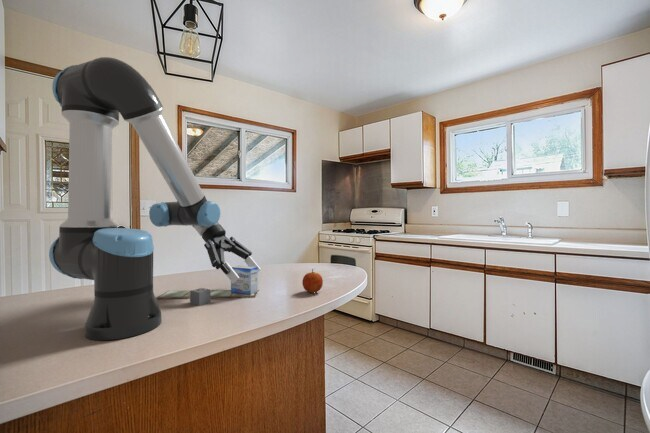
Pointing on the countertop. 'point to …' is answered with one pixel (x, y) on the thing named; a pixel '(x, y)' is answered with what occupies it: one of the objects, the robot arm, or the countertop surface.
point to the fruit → (312, 282)
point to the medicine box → (245, 280)
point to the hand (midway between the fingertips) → (248, 275)
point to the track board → (214, 293)
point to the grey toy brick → (200, 296)
